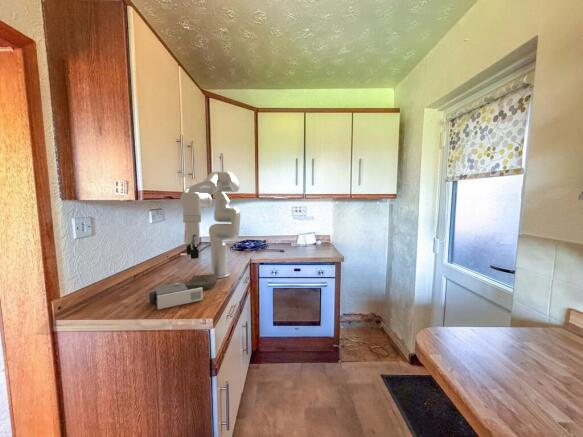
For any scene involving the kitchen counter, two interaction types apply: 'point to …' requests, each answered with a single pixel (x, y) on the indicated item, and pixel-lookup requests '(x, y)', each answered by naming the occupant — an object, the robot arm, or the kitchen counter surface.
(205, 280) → the marble piece
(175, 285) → the camera housing
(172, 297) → the side door
